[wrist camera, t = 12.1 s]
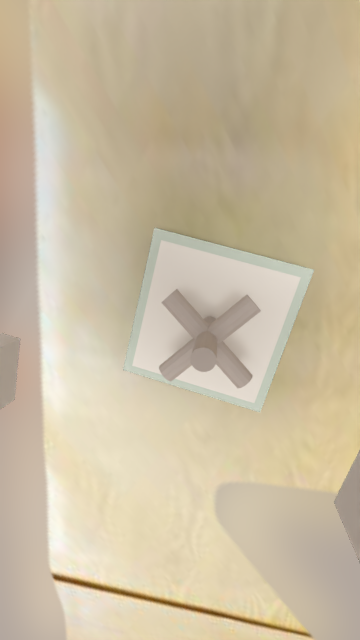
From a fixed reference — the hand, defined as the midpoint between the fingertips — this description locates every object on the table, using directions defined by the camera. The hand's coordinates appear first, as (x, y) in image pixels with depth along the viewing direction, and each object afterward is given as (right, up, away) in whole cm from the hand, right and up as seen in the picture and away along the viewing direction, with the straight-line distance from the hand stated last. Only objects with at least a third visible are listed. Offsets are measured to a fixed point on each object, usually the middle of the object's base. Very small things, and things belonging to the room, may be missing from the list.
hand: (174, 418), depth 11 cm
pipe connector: (+3, +3, +19) cm, 20 cm away
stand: (+4, +4, +22) cm, 23 cm away
